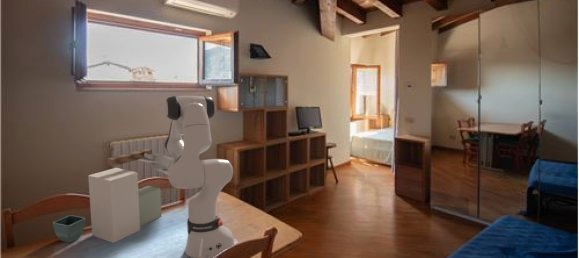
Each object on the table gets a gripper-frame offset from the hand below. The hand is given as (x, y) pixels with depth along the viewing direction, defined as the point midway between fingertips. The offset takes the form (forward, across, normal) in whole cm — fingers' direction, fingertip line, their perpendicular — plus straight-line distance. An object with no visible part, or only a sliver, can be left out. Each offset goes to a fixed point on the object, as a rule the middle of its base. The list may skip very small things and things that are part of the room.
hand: (140, 153), depth 170 cm
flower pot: (+8, -11, +44) cm, 46 cm away
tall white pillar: (-4, 0, +37) cm, 37 cm away
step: (-18, 0, +29) cm, 34 cm away
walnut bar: (+4, 0, +4) cm, 6 cm away
